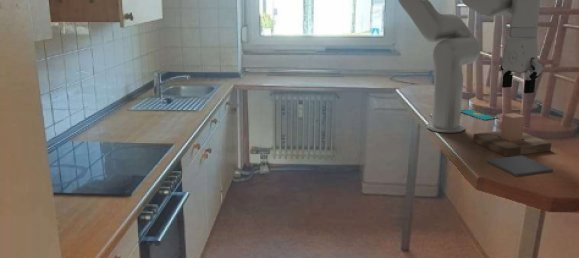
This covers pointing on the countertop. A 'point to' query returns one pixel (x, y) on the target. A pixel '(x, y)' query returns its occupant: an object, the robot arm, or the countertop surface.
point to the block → (512, 127)
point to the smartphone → (476, 114)
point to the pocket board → (511, 144)
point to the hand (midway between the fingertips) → (517, 90)
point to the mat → (519, 165)
